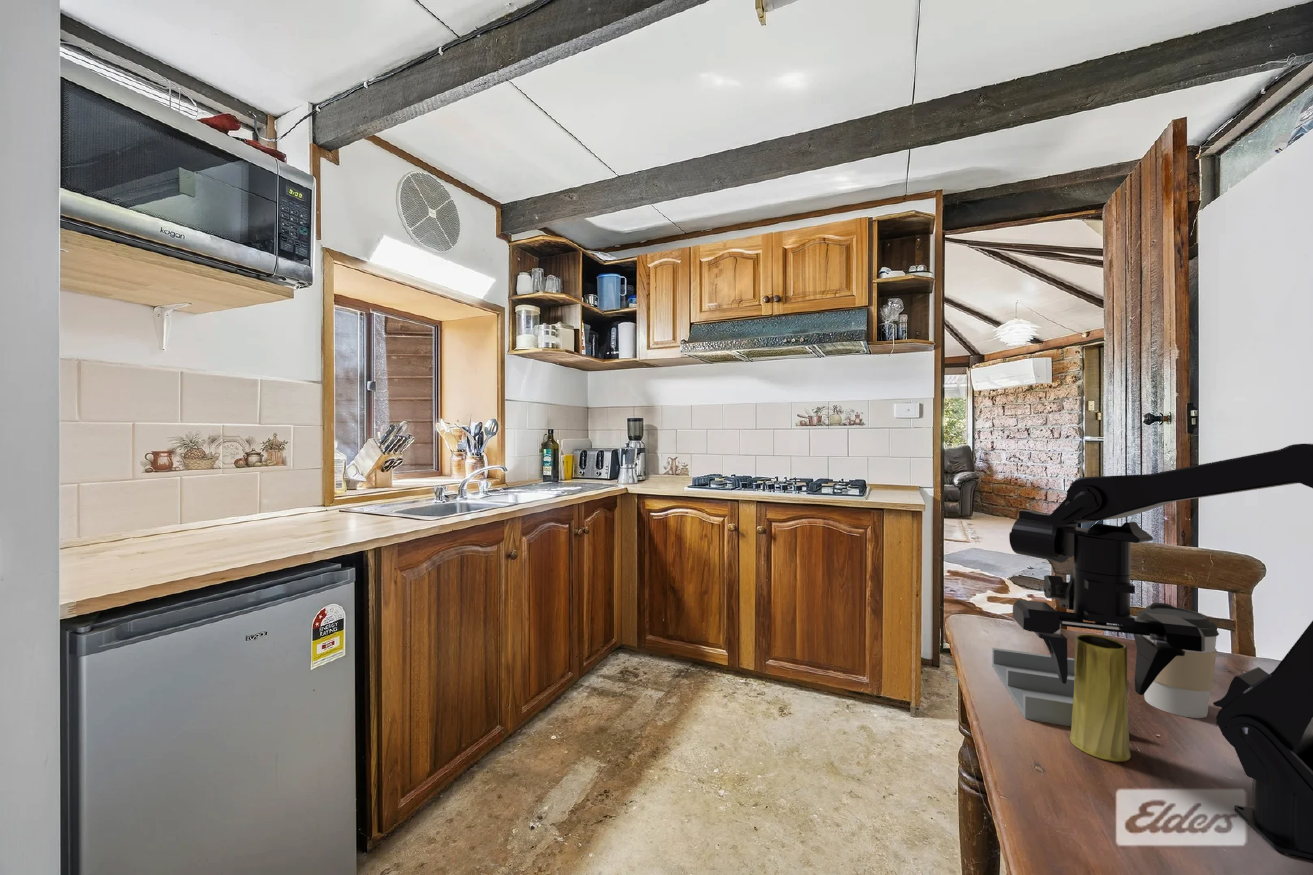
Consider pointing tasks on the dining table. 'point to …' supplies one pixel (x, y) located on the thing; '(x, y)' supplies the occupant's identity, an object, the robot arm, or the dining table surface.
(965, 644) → the dining table surface
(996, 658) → the tiered shelf
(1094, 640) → the vase
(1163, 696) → the coffee cup
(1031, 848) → the dining table surface
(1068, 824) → the dining table surface
